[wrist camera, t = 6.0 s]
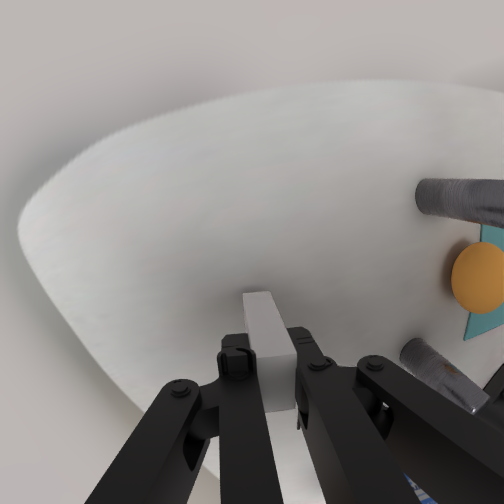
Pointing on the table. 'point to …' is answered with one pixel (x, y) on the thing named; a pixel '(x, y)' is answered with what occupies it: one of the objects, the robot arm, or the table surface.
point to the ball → (479, 278)
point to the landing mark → (500, 314)
